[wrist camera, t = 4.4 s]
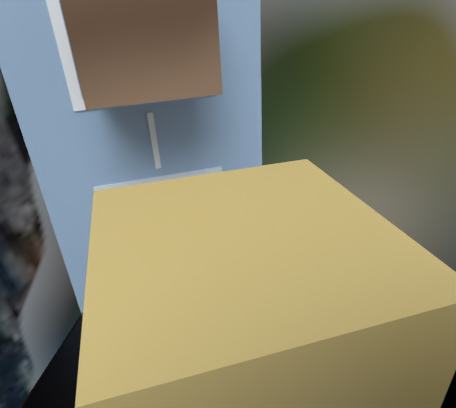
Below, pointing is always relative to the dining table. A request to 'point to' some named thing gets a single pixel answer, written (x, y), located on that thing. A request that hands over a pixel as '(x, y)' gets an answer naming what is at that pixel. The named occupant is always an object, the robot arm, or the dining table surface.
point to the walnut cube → (144, 50)
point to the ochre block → (260, 298)
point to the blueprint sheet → (122, 120)
